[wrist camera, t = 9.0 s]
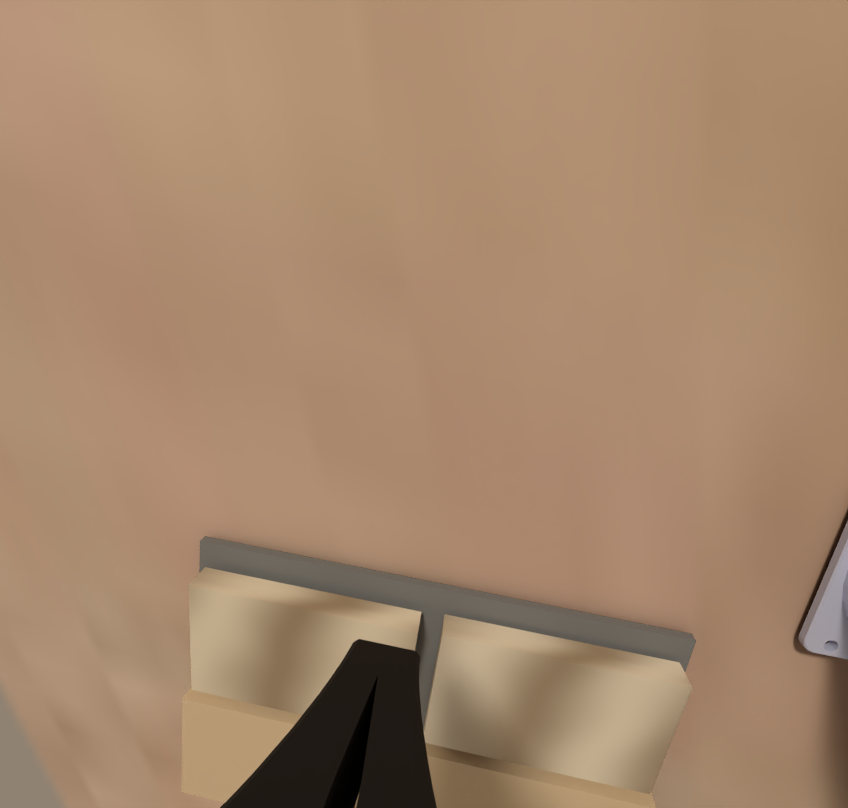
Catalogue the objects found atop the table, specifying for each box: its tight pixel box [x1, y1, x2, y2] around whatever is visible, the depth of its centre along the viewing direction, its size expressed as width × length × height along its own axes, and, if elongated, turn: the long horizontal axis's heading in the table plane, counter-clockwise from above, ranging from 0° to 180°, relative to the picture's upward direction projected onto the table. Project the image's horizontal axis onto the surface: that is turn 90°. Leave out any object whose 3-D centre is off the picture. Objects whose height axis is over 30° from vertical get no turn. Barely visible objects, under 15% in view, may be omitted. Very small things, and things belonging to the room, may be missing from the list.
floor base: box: [182, 536, 696, 808], centre depth 21 cm, size 22×14×2 cm, turn 82°
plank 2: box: [424, 614, 693, 794], centre depth 19 cm, size 10×6×1 cm, turn 82°
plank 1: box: [188, 567, 421, 715], centre depth 20 cm, size 10×6×1 cm, turn 82°
